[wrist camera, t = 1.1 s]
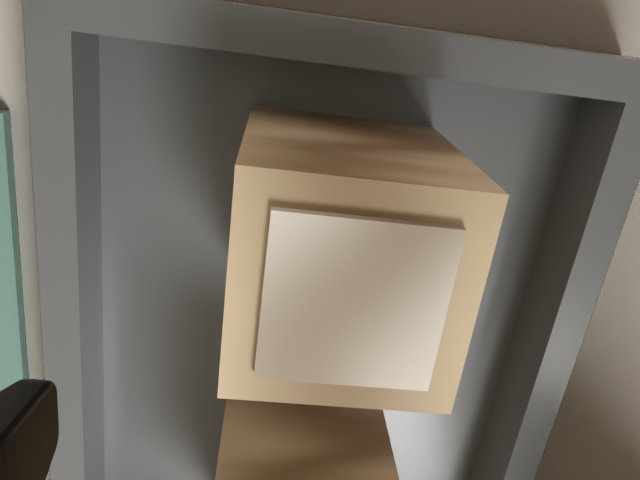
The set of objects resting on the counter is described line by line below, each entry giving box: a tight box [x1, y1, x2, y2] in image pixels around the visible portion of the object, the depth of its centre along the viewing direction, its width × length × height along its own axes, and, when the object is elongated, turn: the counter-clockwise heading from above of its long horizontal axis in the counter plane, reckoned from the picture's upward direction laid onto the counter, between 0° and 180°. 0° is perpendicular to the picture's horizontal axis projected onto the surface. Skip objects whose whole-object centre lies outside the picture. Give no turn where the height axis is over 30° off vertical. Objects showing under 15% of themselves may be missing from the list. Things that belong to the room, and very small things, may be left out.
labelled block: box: [217, 105, 509, 414], centre depth 14 cm, size 5×5×6 cm
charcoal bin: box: [22, 0, 640, 480], centre depth 18 cm, size 15×19×2 cm
